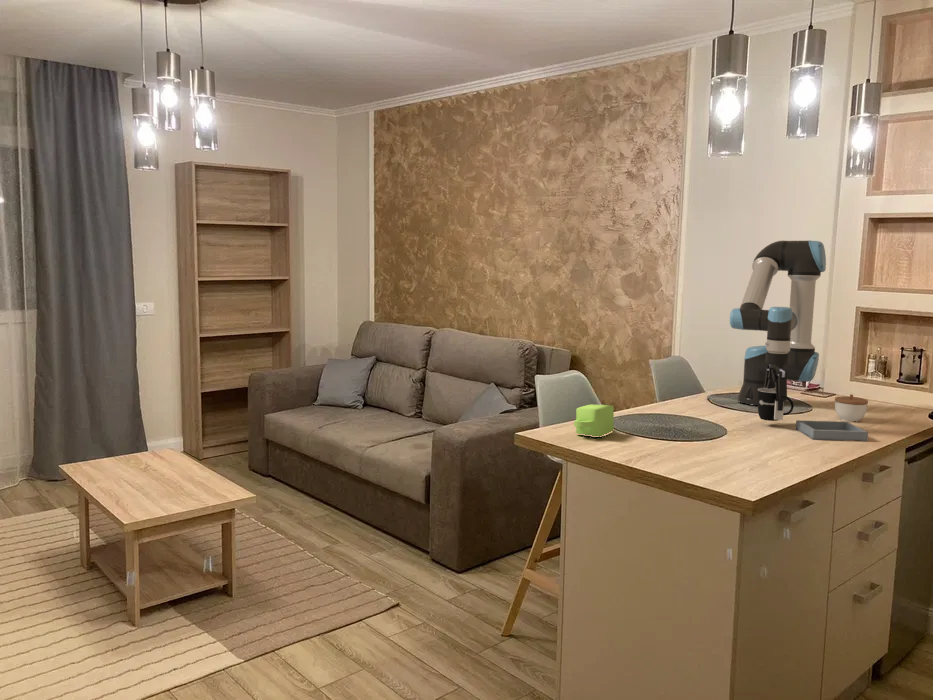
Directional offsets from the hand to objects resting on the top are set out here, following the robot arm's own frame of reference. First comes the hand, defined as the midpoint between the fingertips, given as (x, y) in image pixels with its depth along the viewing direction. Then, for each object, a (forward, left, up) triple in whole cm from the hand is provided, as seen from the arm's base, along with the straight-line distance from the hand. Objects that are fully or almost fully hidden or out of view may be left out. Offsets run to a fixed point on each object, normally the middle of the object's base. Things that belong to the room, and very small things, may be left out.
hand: (773, 416), depth 260 cm
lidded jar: (-14, +32, -4) cm, 35 cm away
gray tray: (+11, +15, -3) cm, 19 cm away
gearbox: (+20, -64, -4) cm, 67 cm away
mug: (+1, 0, -1) cm, 1 cm away
